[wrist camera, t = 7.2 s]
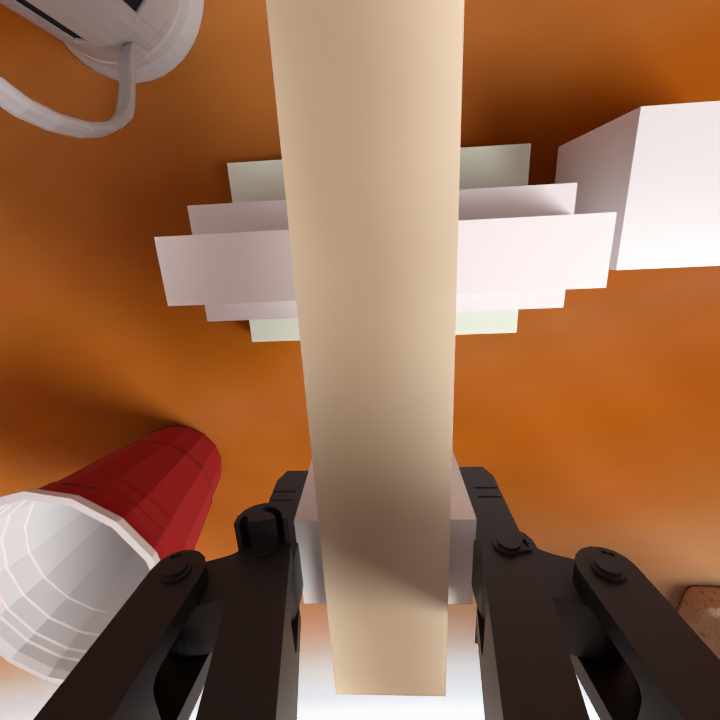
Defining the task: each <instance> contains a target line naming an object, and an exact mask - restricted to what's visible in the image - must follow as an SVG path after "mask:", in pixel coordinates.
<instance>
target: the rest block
mask: <svg viewBox="0 0 720 720" xmlns="http://www.w3.org/2000/svg"><path fill="white" fill-rule="evenodd" d="M563 183H577V192H576V201H575V210H574V214H590V213H608V212H617V216H616V222H615V229H614V236H613V243H612V250H611V257H610V263H609V269H611V270H633V269H655V268H677V267H699V266H720V101H711V102H697V103H682V104H668V105H654V106H641V107H639V108H637V109H635V110H633V111H631V112H629V113H627V114H624V115H622V116H620V117H618V118H616V119H614V120H612V121H610V122H608V123H606V124H604V125H602V126H600V127H598V128H596V129H594V130H592V131H590V132H588V133H586V134H584V135H582V136H580V137H578V138H575V139H573V140H571V141H569V142H567V143H565V144H563V145H561V146H559V147H558V155H557V165H556V176H555V184H563Z"/></svg>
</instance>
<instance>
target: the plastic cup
mask: <svg viewBox="0 0 720 720" xmlns="http://www.w3.org/2000/svg"><path fill="white" fill-rule="evenodd" d="M220 473H221V457H220V455H219V452H218V450H217V448H216V446H215V445H214V444H213V443H212V442H211V441H210V440H209V439H208V438H207V437H206V436H205V435H204V434H202V433H200V432H198V431H196V430H194V429H192V428H190V427H181V426H172V427H168V428H164V429H161V430H158V431H154V432H153V433H151V434H149V435H147V436H146V437H144V438H142V439H140V440H139V441H137V442H135V443H133V444H131V445H127V446H125V447H123V448H121V449H119V450H117V451H115V452H113V453H111V454H109V455H107V456H105V457H104V458H102V459H100V460H98V461H96V462H94V463H92V464H90V465H88V466H86V467H84V468H82V469H81V470H79V471H77V472H75V473H73V474H71V475H69V476H67V477H65V478H63V479H61V480H59V481H57V482H53V483H50V484H48V485H46V486H43V487H41V488H39V489H29V490H25V491H21V492H17V493H13V494H8V495H4V496H0V655H1V656H2V657H3V658H4V659H5V660H6V661H8V662H9V663H11V664H13V665H15V666H17V667H19V668H21V669H23V670H25V671H27V672H29V673H31V674H33V675H35V676H37V677H40V678H42V679H44V680H46V681H48V682H53V683H58V684H62V683H63V681H64V680H65V679H66V677H67V676H68V675H69V674H70V672H71V671H72V670H73V669H74V667H75V666H76V665H77V663H78V662H79V661H80V660H81V658H82V657H83V656H84V655H85V653H86V652H87V651H88V649H89V648H90V647H91V646H92V644H93V643H94V642H95V640H96V639H97V638H98V637H99V635H100V634H101V633H102V632H103V630H104V629H105V628H106V626H107V625H108V624H109V623H110V621H111V620H112V619H113V618H114V616H115V615H116V614H117V612H118V611H119V610H120V609H121V607H122V606H123V605H124V603H125V602H126V601H127V600H128V598H129V597H130V596H131V595H132V593H133V592H134V591H135V589H136V588H137V587H138V586H139V584H140V583H141V582H142V581H143V579H144V578H145V577H146V575H147V574H148V573H149V572H150V570H151V569H152V568H153V567H154V566H155V565H156V564H157V563H158V562H159V561H160V560H162V559H164V558H165V557H167V556H169V555H170V554H173V553H176V552H179V551H182V550H194V549H195V546H196V543H197V541H198V538H199V536H200V533H201V530H202V528H203V525H204V522H205V520H206V517H207V515H208V512H209V509H210V507H211V504H212V497H213V495H214V492H215V490H216V487H217V484H218V482H219V479H220Z"/></svg>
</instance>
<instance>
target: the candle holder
mask: <svg viewBox="0 0 720 720" xmlns="http://www.w3.org/2000/svg"><path fill="white" fill-rule="evenodd" d="M677 612H678V614H679V615H680V616H681V617H682V618H683V619H684V620H685V621H686V623H687V624H688V625H689V626H690V627H691V628H692V629H693V630H694V632H695V633H696V634H697V635H698V636H699V637H700V638H701V639H702V640H703V642H704V643H705V644H706V645H707V646H708V647H709V648H710V649H711V651H712V652H713V653H714V654H715V655H716V656H717V657H718V658H719V660H720V587H716V586H692V587H689V588H688V589H687V590H686V591H685V593H684V595H683V597H682V599H681V601H680V604H679V606H678V609H677Z"/></svg>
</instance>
